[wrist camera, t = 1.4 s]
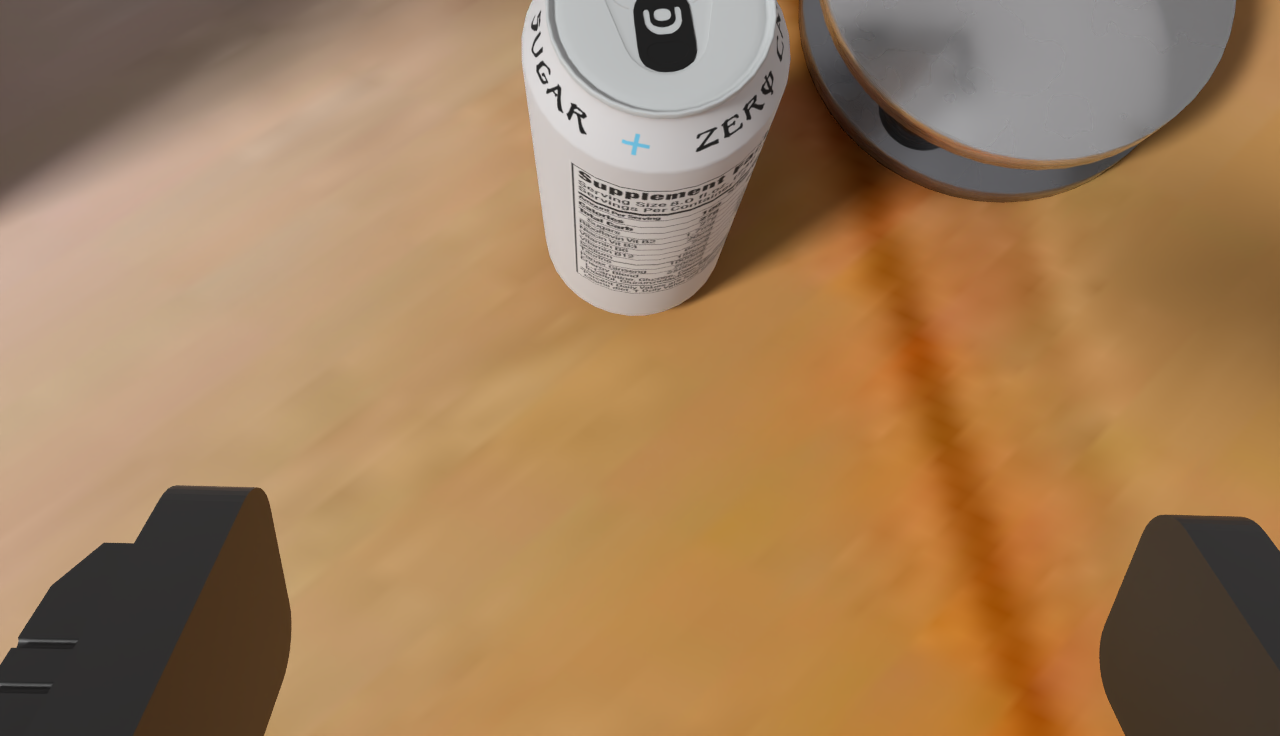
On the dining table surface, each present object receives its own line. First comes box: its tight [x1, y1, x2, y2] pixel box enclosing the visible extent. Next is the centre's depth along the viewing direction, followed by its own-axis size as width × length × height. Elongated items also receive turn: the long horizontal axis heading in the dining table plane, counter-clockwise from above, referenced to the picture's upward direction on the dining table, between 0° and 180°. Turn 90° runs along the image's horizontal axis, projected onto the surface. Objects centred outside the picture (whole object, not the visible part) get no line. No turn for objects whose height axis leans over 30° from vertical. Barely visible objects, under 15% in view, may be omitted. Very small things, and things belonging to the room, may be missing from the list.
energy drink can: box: [522, 0, 790, 316], centre depth 29 cm, size 6×6×15 cm
